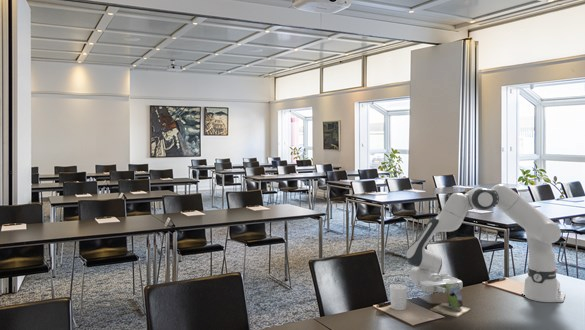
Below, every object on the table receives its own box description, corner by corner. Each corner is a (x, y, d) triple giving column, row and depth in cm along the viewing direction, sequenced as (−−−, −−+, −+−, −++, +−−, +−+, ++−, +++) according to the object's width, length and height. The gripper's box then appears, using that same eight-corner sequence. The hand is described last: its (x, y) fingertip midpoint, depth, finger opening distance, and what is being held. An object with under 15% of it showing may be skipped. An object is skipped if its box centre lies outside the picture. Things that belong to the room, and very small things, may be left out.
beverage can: (464, 309, 215) (464, 283, 214) (448, 310, 215) (447, 283, 215) (460, 305, 221) (459, 279, 221) (444, 305, 221) (443, 279, 221)
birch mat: (444, 303, 226) (444, 302, 226) (470, 310, 216) (470, 308, 216) (430, 310, 216) (430, 309, 216) (457, 317, 207) (457, 315, 207)
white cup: (408, 306, 222) (408, 285, 222) (405, 311, 215) (405, 289, 215) (391, 304, 225) (391, 283, 225) (387, 309, 218) (387, 287, 218)
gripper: (414, 277, 225) (431, 285, 212) (451, 273, 232) (470, 281, 219) (414, 291, 225) (431, 299, 212) (451, 286, 232) (470, 294, 219)
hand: (451, 290), depth 215 cm, fingers open, 5 cm apart
